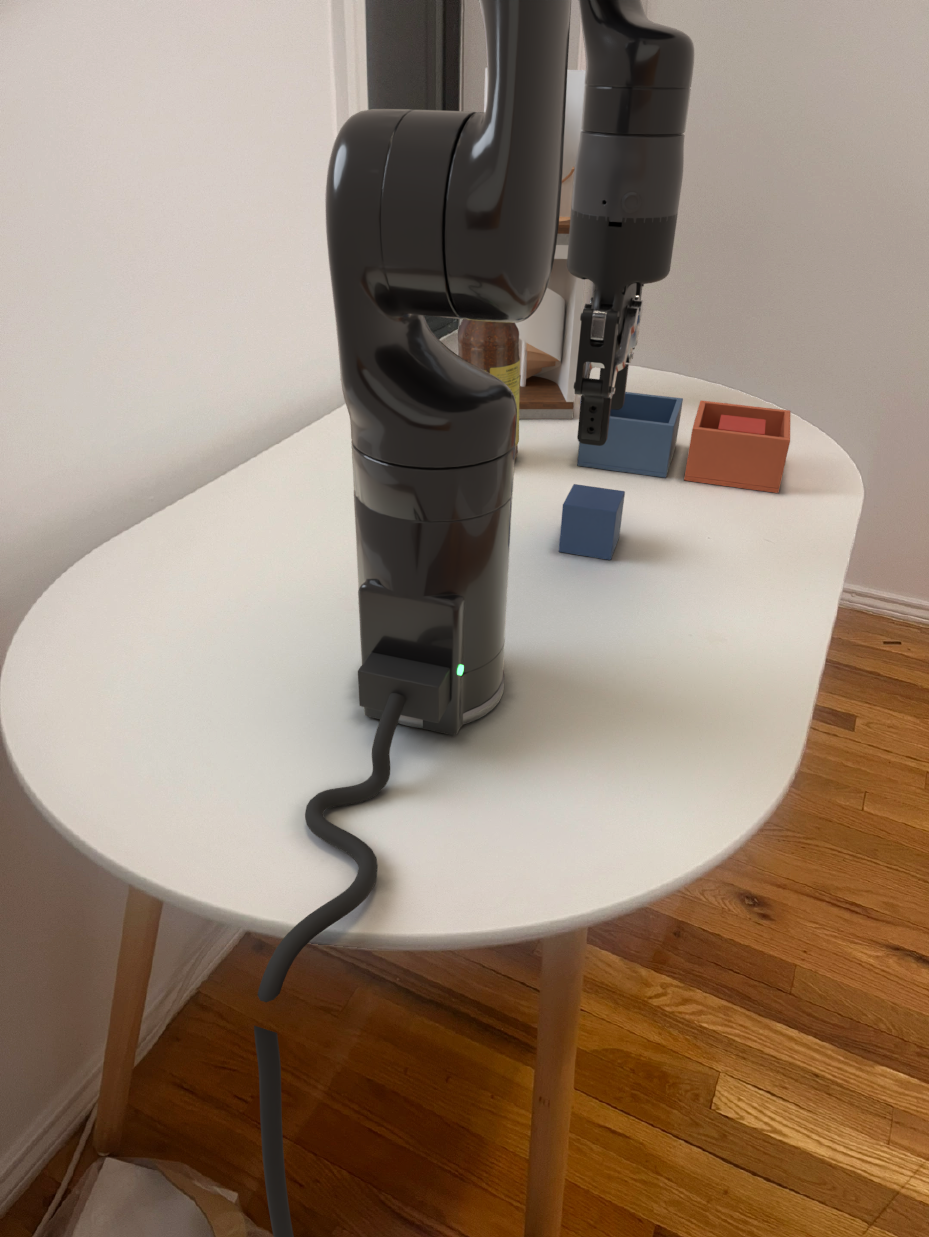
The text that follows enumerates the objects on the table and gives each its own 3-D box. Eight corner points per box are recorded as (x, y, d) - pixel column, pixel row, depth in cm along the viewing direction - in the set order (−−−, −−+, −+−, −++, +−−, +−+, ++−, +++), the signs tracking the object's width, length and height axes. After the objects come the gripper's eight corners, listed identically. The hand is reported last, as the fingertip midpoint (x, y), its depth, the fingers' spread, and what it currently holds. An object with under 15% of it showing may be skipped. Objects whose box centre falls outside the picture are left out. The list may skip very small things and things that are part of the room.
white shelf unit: (476, 388, 113) (485, 67, 95) (558, 388, 114) (583, 70, 95) (483, 418, 104) (494, 68, 85) (572, 418, 104) (603, 70, 86)
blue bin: (665, 478, 90) (673, 426, 87) (576, 465, 92) (581, 414, 89) (675, 447, 97) (683, 398, 94) (593, 436, 99) (598, 388, 96)
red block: (755, 476, 89) (765, 434, 87) (710, 470, 90) (718, 428, 88) (757, 460, 93) (765, 419, 90) (713, 455, 94) (721, 414, 92)
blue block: (610, 560, 74) (616, 511, 72) (558, 552, 75) (562, 503, 73) (619, 537, 78) (625, 490, 76) (569, 530, 79) (573, 483, 77)
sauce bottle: (519, 449, 96) (530, 254, 85) (516, 471, 90) (527, 266, 80) (459, 446, 96) (462, 251, 85) (452, 468, 91) (455, 263, 80)
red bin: (778, 493, 87) (790, 440, 84) (683, 480, 89) (692, 428, 86) (779, 460, 94) (790, 410, 92) (692, 449, 97) (700, 400, 94)
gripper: (590, 190, 69) (572, 393, 78) (550, 216, 58) (535, 450, 66) (687, 196, 67) (658, 402, 76) (666, 223, 56) (635, 463, 65)
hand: (601, 424), depth 71 cm, fingers open, 8 cm apart
